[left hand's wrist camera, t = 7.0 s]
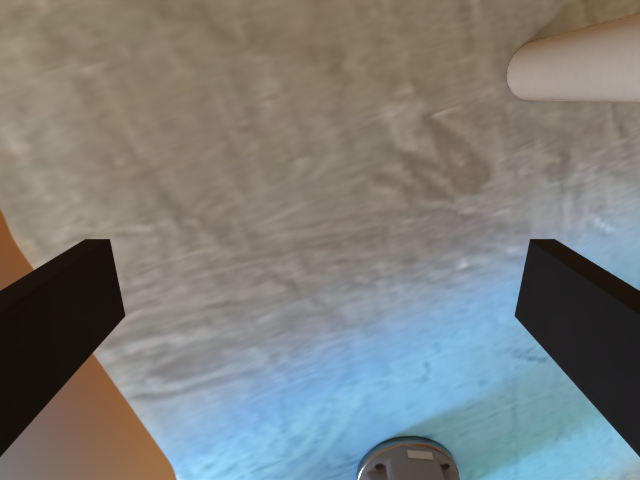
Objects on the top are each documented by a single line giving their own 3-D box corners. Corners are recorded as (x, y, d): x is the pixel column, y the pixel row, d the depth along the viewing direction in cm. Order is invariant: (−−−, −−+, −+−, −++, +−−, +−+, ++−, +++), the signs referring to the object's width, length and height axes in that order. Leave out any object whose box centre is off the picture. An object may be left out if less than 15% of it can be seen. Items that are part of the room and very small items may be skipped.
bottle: (554, 103, 41) (857, 112, 18) (500, 98, 41) (735, 101, 18) (571, 42, 39) (937, -37, 16) (514, 37, 39) (801, -51, 16)
